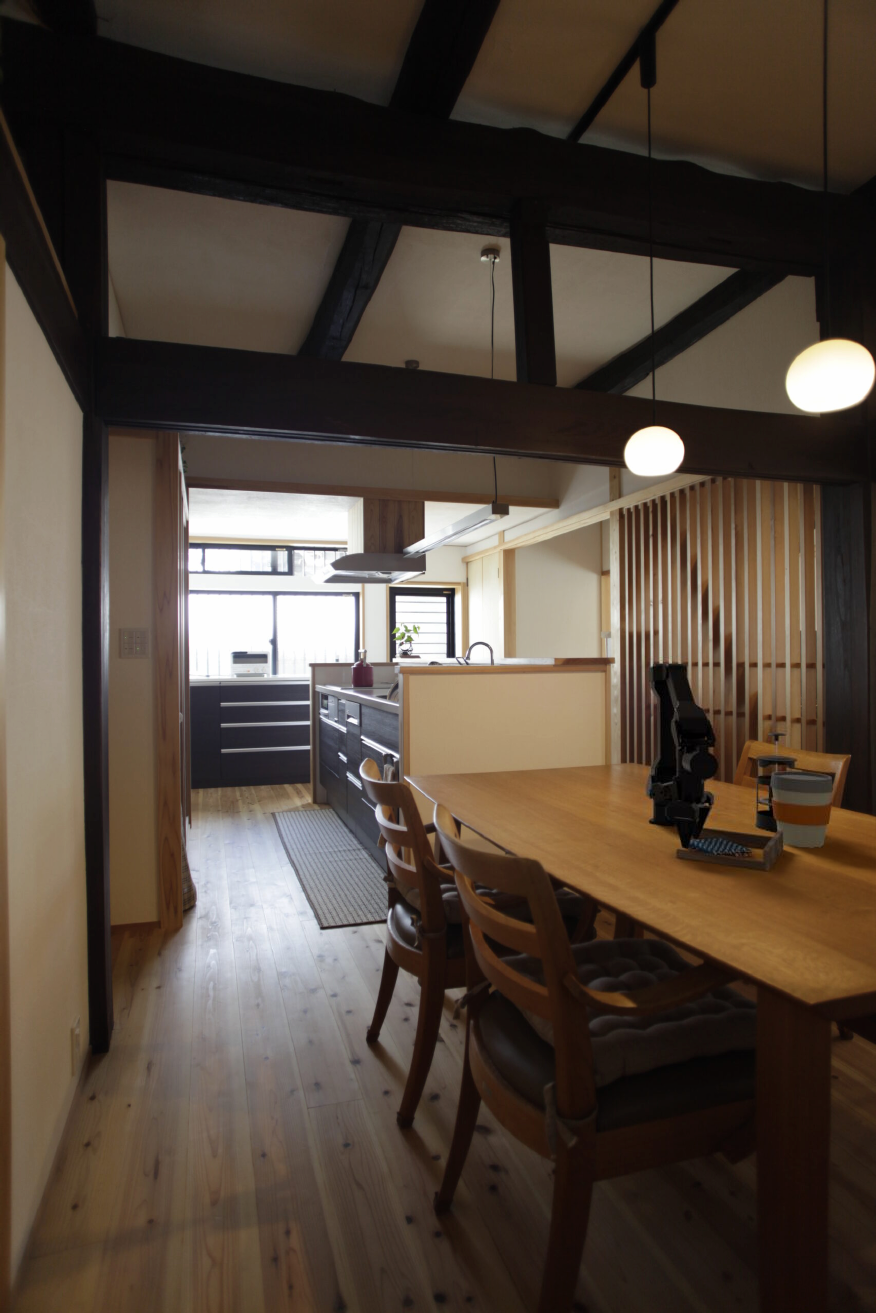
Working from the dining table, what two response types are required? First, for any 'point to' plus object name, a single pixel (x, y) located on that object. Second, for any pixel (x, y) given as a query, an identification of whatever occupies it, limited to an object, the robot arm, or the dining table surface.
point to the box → (769, 843)
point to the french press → (767, 816)
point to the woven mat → (719, 847)
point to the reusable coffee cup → (802, 806)
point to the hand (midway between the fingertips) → (690, 843)
